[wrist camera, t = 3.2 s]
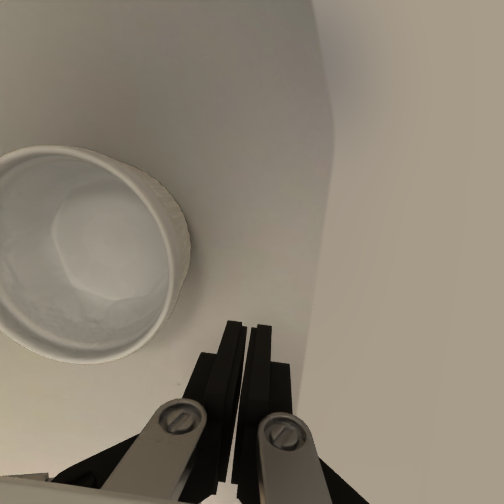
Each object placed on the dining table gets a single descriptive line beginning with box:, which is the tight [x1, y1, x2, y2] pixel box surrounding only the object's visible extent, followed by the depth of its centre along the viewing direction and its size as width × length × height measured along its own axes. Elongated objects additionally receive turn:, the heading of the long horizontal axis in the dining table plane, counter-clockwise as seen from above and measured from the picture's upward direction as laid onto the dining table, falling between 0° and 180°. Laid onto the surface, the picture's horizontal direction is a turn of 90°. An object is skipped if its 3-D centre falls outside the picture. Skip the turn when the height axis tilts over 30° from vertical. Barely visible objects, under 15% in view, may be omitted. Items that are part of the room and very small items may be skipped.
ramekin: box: [0, 145, 191, 365], centre depth 21 cm, size 13×13×7 cm
